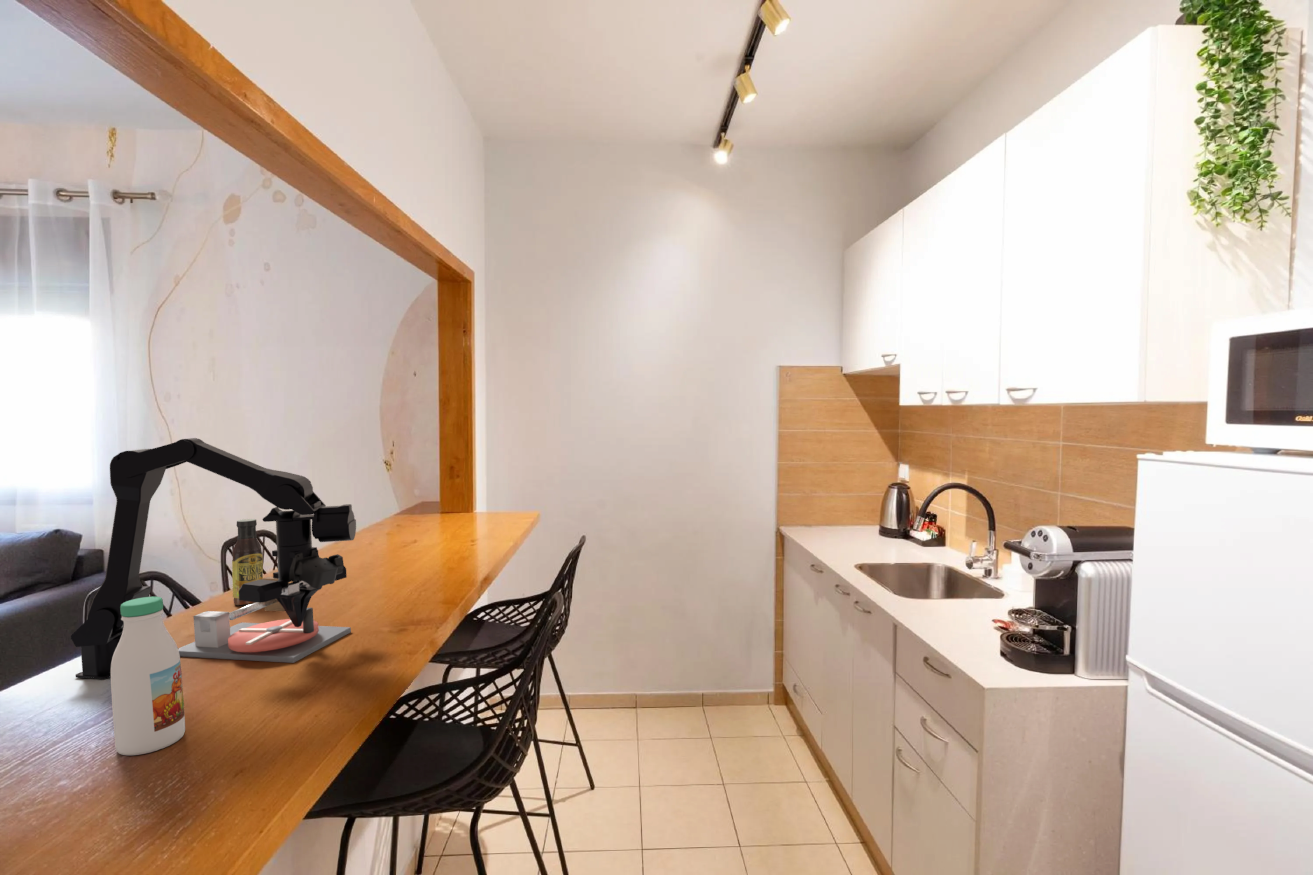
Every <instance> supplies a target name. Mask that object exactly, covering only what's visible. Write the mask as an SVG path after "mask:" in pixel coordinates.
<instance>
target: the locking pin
mask: <svg viewBox="0 0 1313 875" xmlns="http://www.w3.org/2000/svg"><path fill="white" fill-rule="evenodd" d="M263 580H271V581H278V579H276V578H273V576H267V577H266V576H265V577H263ZM288 583H290V582H288ZM262 609H264V611H265V612H266V611H267V612H268V611H269V612H270V611H271V612H273V611H274V612H286V611H285V610H284V608H283V607H282V605H281V604H280V603H279V602H278V600H277V599H273V600H270V601H267V602H261V603H259V602H256V603H253V604H249V605H244V606H243V607H241V608H238V609H235V610H233V611H230V612H229V621H233V620H236V619H238V618H241V617H243V616H247V615H249V614H251V613H253V612H257V611H259V610H262Z"/></svg>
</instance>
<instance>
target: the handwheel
mask: <svg viewBox="0 0 1313 875" xmlns="http://www.w3.org/2000/svg"><path fill="white" fill-rule="evenodd" d="M260 623H261V624H257V625H253V626H250V627H247V628H242V629H239V631H237V632H235V633H234V634H232V635H231V636H230V637H229V638H228V647H229V649H231V650H233V651H237V652H262V651H270V650H276V649H280V648H285V647H289V646H292V645H296V644H299V643H301V642H304V641H306V640H308V639H310V638H312V637H314V636H315V635H316V634H317V633H318V631H319V627H318V626H319V622H318V621H316V620H314V608H313V607H307V610H306V613H305V616H304V619H303V622H302V625H301V626H300V627H295V626H294V625H293V623H292V621H291V620H290V618H285V619H276V620H271V621H267V622H260Z"/></svg>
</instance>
